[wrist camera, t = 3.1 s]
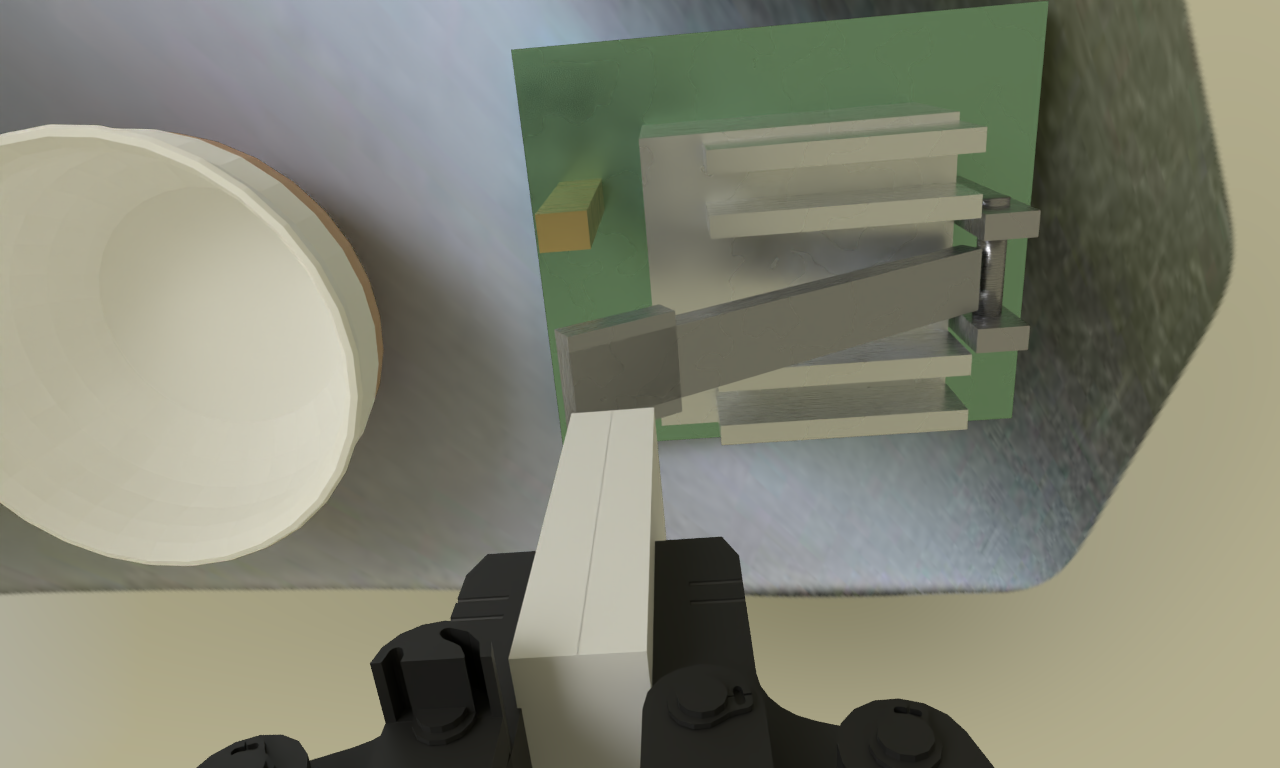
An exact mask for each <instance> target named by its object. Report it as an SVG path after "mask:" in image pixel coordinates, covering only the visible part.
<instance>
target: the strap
mask: <svg viewBox="0 0 1280 768" xmlns="http://www.w3.org/2000/svg"><path fill="white" fill-rule="evenodd" d="M981 260H982V248H977V247H971V246H966V245H958V246H954V247H950V248H946V249H942V250H938V251H934V252H930V253H926V254H922V255H918V256H914V257H910V258H906V259H902V260H898V261H893V262H889V263H885V264H881V265H877V266H873V267H869V268H865V269H861V270H857V271H853V272H849V273H845V274H841V275H837V276H833V277H828V278H824V279H820V280H816V281H812V282H808V283H804V284H800V285H796V286H792V287H788V288H784V289H780V290H776V291H772V292H768V293H764V294H759V295H755V296H751V297H747V298H743V299H739V300H735V301H731V302H727V303H723V304H719V305H715V306H711V307H707V308H703V309H699V310H694V311H690V312H686V313H682V314H678V315H675V311H674V310H672V309H670V308H667V307H665V306H663V305H660V304H658V305H654V306H650V307H646V308H642V309H637V310H633V311H629V312H625V313H621V314H616V315H612V316H608V317H604V318H599V319H595V320H591V321H587V322H583V323H578V324H574V325H570V326H566V327H562V328H557V329H554V331H555V339H556V347H557V355H558V363H559V370H560V378H561V386H562V394H563V402H564V409H565V417H566V425H567V429H568V425H569V421H570V417H571V413H584V412H598V411H611V410H625V409H638V408H652V407H654V413H655V420H657V419H660V418H663V417H667V416H670V415H673V414H676V413H680V412H682V400H681V398H683V397H686V396H689V395H693V394H696V393H700V392H703V391H706V390H710V389H713V388H716V387H720V386H723V385H727V384H730V383H733V382H737V381H740V380H744V379H747V378H750V377H754V376H757V375H760V374H764V373H767V372H771V371H774V370H777V369H781V368H784V367H788V366H791V365H794V364H798V363H801V362H804V361H808V360H811V359H815V358H818V357H821V356H825V355H828V354H832V353H835V352H838V351H842V350H845V349H848V348H852V347H855V346H859V345H862V344H865V343H869V342H872V341H876V340H879V339H882V338H886V337H889V336H892V335H896V334H899V333H903V332H906V331H909V330H913V329H916V328H920V327H923V326H926V325H930V324H933V323H936V322H940V321H943V320H947V319H950V318H953V317H957V316H960V315H964V314H967V313H970V312H974V311H977V310H978V304H979V289H980V274H981Z"/></svg>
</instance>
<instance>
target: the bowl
mask: <svg viewBox="0 0 1280 768" xmlns="http://www.w3.org/2000/svg"><path fill="white" fill-rule="evenodd" d="M383 351H384V350H383V341H382V331H381V321H380V314H379V311H378V307H377V304H376V301H375V298H374V294H373V291H372V288H371V285H370V281H369V279H368V277H367V275H366V273H365V271H364V269H363V267H362V265H361V263H360V261H359V260H358V258H357V256H356V254H355V252H354V250H353V248H352V246H351V244H350V243H349V242H348V240H347V239H346V238H345V236H344V235H343V234H342V232H341V231H340V230H339V229H338V227H337V226H336V225H335V223H334V222H333V221H332V219H331V218H330V217H329V216H328V214H327V213H326V212H325V211H324V210H323V209H322V208H321V207H320V206H319V205H318V204H317V203H316V202H315V201H314V200H312V199H311V198H310V197H309V196H308V195H307V194H306V193H305V192H304V191H303V190H302V189H300V188H299V187H298V186H297V185H296V184H295V183H294V182H293V181H291V180H289V179H288V178H286V177H285V176H283V175H282V174H280V173H279V172H277V171H276V170H274V169H272V168H271V167H269V166H268V165H266V164H265V163H263V162H262V161H260V160H259V159H257V158H255V157H252V156H250V155H247V154H245V153H243V152H240V151H238V150H236V149H233V148H231V147H229V146H226V145H224V144H221V143H219V142H216V141H211V140H207V139H202V138H198V137H193V136H188V135H184V134H179V133H173V132H165V131H160V130H156V129H118V128H110V127H105V126H101V125H57V124H49V125H44V126H39V127H34V128H29V129H24V130H19V131H14V132H9V133H3V134H1V135H0V503H1V504H3V505H4V506H5V507H7V508H8V509H10V510H11V511H12V512H14V513H15V514H17V515H18V516H19V517H21V518H22V519H24V520H25V521H26V522H28V523H30V524H32V525H34V526H36V527H38V528H40V529H42V530H44V531H46V532H47V533H49V534H51V535H53V536H55V537H57V538H59V539H61V540H63V541H65V542H67V543H70V544H72V545H75V546H78V547H81V548H84V549H87V550H89V551H92V552H95V553H98V554H101V555H104V556H106V557H111V558H116V559H121V560H126V561H132V562H137V563H142V564H147V565H170V566H194V565H201V564H208V563H215V562H222V561H229V560H233V559H236V558H239V557H241V556H244V555H247V554H250V553H253V552H256V551H259V550H261V549H264V548H267V547H270V546H271V545H273V544H275V543H276V542H278V541H279V540H281V539H283V538H284V537H286V536H288V535H289V534H291V533H293V532H294V531H296V530H298V529H299V528H301V527H302V526H303V525H304V524H305V523H306V522H307V521H308V520H309V519H310V518H311V517H312V516H313V515H314V514H315V513H316V512H317V511H318V510H319V509H320V508H321V507H322V506H323V505H324V504H325V503H326V502H327V501H328V500H329V498H330V496H331V495H332V493H333V492H334V490H335V488H336V487H337V485H338V484H339V482H340V481H341V479H342V477H343V476H344V474H345V473H346V471H347V468H348V465H349V462H350V459H351V456H352V454H353V451H354V448H355V445H356V444H357V442H358V440H359V439H360V437H361V436H362V434H363V432H364V430H365V427H366V424H367V421H368V418H369V415H370V413H371V410H372V407H373V404H374V401H375V397H376V394H377V391H378V388H379V385H380V379H381V369H382V360H383Z"/></svg>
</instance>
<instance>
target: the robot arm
mask: <svg viewBox="0 0 1280 768" xmlns="http://www.w3.org/2000/svg"><path fill="white" fill-rule="evenodd" d="M370 665H371V669H372V672H373V676H374V680H375V684H376V688H377V692H378V696H379V700H380V703H381V707H382V711H383V715H384V719H385V722H386V724H385V726H384V729H383V731H382V734H381V736H379V737H377V738H375V739H374V740H372V741H369V742H366V743H364V744H361V745H359V746H356V747H353V748H350V749H347V750H343V751H340V752H337V753H333V754H330V755H327V756H324V757H321V758H317V759H314V760H310V761H309V758H308V754H307V753H306V751H305V750H304V748H303V747H302V745H301V744H300V742H299V741H297V740H294V739H292V738H289V737H287V736H284V735H259V736H256V737H252V738H249V739H245V740H242V741H239V742H235V743H233V744H232V745H230V746H228V747H226V748H224V749H222V750H221V751H219V752H217V753H215V754H213V755H211V756H210V757H209V758H207V760H205V761H204V762H203V763H202V764H200V765H199V766H198V767H197V768H994V767H993V765H992V764H991V763H990V761H989V760H988V759H987V758H986V756H985V755H984V754H983V752H982V751H981V750H980V749H979V747H978V746H977V745H976V744H975V742H974V741H973V740H972V739H971V737H970V736H969V735H968V733H967V732H966V731H965V730H964V729H963V728H962V727H961V726H960V725H958V724H957V723H956V722H955V721H954V720H953V719H952V718H951V717H950V716H948V715H947V714H945V713H943V712H941V711H939V710H937V709H934V708H933V707H930V706H928V705H926V704H924V703H919V702H914V701H909V700H903V699H889V700H875V701H872V702H870V703H868V704H865V705H863V706H861V707H859V708H856V709H854V710H853V711H852V712H851V713H850V714H849V715H848V716H847V717H846V719H845V720H844V721H843V722H842V723H841V725H840V726H838V725H833V724H828V723H823V722H818V721H814V720H811V719H808V718H804V717H801V716H798V715H795V714H793V713H791V712H790V711H788V710H786V709H784V708H782V707H780V706H779V705H778V704H777V703H776V702H774V701H773V700H772V699H770V697H768V695H767V694H766V693H765V691H764V690H763V688H762V687H761V686H760V683H759V680H758V677H757V674H756V669H755V662H754V656H753V648H752V642H751V635H750V628H749V621H748V614H747V607H746V602H745V594H744V587H743V582H742V573H741V567H740V560H739V555H738V554H737V553H736V552H735V551H734V550H733V548H732V547H731V546H730V545H729V544H728V543H727V542H726V541H725V540H724V539H723V537H710V538H695V539H679V540H666V530H665V519H664V509H663V498H662V487H661V477H660V466H659V455H658V445H657V434H656V423H655V413H654V407H652V408H638V409H625V410H611V411H598V412H584V413H571V417H570V421H569V425H568V429H567V433H566V436H565V440H564V444H563V448H562V452H561V456H560V460H559V464H558V468H557V472H556V475H555V479H554V483H553V487H552V491H551V495H550V499H549V503H548V507H547V510H546V514H545V518H544V522H543V526H542V530H541V534H540V538H539V542H538V546H537V549H536V551H531V552H515V553H500V554H487V555H486V556H485V557H484V558H483V559H482V560H481V561H480V562H479V563H478V564H477V565H476V566H475V567H474V568H473V569H472V570H471V571H470V572H469V573H468V574H467V575H466V578H465V580H464V583H463V586H462V588H461V591H460V594H459V596H458V603H456V604H455V607H454V610H453V613H452V615H451V621H441V622H436V623H430V624H425V625H421V626H419V627H416V628H414V629H412V630H409V631H407V632H404V633H402V634H400V635H399V636H397V637H396V638H394V639H393V640H392V641H390V642H389V643H388V644H386V645H385V646H383V647H382V648H381V650H380V651H379V652H378V654H377V655H376V656H375V658H374V659H373V660H372V662H371V663H370Z"/></svg>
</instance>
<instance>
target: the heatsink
mask: <svg viewBox="0 0 1280 768" xmlns="http://www.w3.org/2000/svg"><path fill="white" fill-rule="evenodd" d="M1047 12H1048V1H1041V2H1030V3H1019V4H1008V5H997V6H986V7H975V8H965V9H954V10H943V11H932V12H921V13H910V14H899V15H888V16H877V17H866V18H855V19H844V20H833V21H822V22H811V23H800V24H789V25H778V26H767V27H756V28H745V29H734V30H723V31H712V32H701V33H690V34H679V35H668V36H657V37H646V38H635V39H624V40H613V41H602V42H591V43H580V44H569V45H559V46H548V47H537V48H526V49H515V50H511V52H512V60H513V67H514V75H515V83H516V90H517V98H518V106H519V113H520V121H521V128H522V136H523V144H524V151H525V159H526V167H527V174H528V182H529V190H530V197H531V205H532V213H533V220H534V228H535V235H536V243H537V251H538V258H539V266H540V274H541V281H542V289H543V297H544V304H545V312H546V319H547V327H548V335H549V342H550V350H551V358H552V365H553V373H554V381H555V388H556V396H557V404H558V411H559V419H560V426H561V434H562V442H563V444H564V440H565V436H566V433H567V425H566V417H565V409H564V402H563V394H562V386H561V378H560V370H559V363H558V355H557V347H556V339H555V331H554V329H557V328H562V327H566V326H570V325H574V324H578V323H583V322H587V321H591V320H595V319H599V318H604V317H608V316H612V315H616V314H621V313H625V312H629V311H633V310H637V309H642V308H646V307H650V306H654V305H658V304H660V305H663V306H665V307H667V308H670V309H672V310H674V311H675V315H678V314H682V313H686V312H690V311H694V310H699V309H703V308H707V307H711V306H715V305H719V304H723V303H727V302H731V301H735V300H739V299H743V298H747V297H751V296H755V295H759V294H764V293H768V292H772V291H776V290H780V289H784V288H788V287H792V286H796V285H800V284H804V283H808V282H812V281H816V280H820V279H824V278H828V277H833V276H837V275H841V274H845V273H849V272H853V271H857V270H861V269H865V268H869V267H873V266H877V265H881V264H885V263H889V262H893V261H898V260H902V259H906V258H910V257H914V256H918V255H922V254H926V253H930V252H934V251H938V250H942V249H946V248H950V247H954V246H958V245H966V246H971V247H977V248H982V260H981V274H980V289H979V304H978V310H977V311H974V312H970V313H967V314H964V315H960V316H957V317H953V318H950V319H947V320H943V321H940V322H936V323H933V324H930V325H926V326H923V327H920V328H916V329H913V330H909V331H906V332H903V333H899V334H896V335H892V336H889V337H886V338H882V339H879V340H876V341H872V342H869V343H865V344H862V345H859V346H855V347H852V348H848V349H845V350H842V351H838V352H835V353H832V354H828V355H825V356H821V357H818V358H815V359H811V360H808V361H804V362H801V363H798V364H794V365H791V366H788V367H784V368H781V369H777V370H774V371H771V372H767V373H764V374H760V375H757V376H754V377H750V378H747V379H744V380H740V381H737V382H733V383H730V384H727V385H723V386H720V387H716V388H713V389H710V390H706V391H703V392H700V393H696V394H693V395H689V396H686V397H683V398H681V400H682V412H680V413H676V414H673V415H670V416H667V417H663V418H660V419H657V420H655V423H656V434H657V441H666V440H681V439H696V438H712V437H720V438H721V444H722V445H732V444H747V443H763V442H778V441H794V440H809V439H825V438H840V437H856V436H871V435H887V434H902V433H917V432H933V431H948V430H964V429H967V424H968V421H972V420H988V419H1003V418H1012V409H1013V397H1014V386H1015V375H1016V363H1017V352H1018V350H1028V342H1029V331H1030V325H1028V324H1027V323H1026V322H1024V321H1023V320H1022V319H1020V318H1021V307H1022V295H1023V284H1024V273H1025V262H1026V250H1027V239H1028V238H1032V237H1038V235H1039V224H1040V213H1041V210H1039V209H1036V208H1034V207H1032V206H1030V205H1031V194H1032V182H1033V171H1034V160H1035V148H1036V137H1037V126H1038V114H1039V103H1040V92H1041V80H1042V69H1043V58H1044V46H1045V35H1046V24H1047Z"/></svg>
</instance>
